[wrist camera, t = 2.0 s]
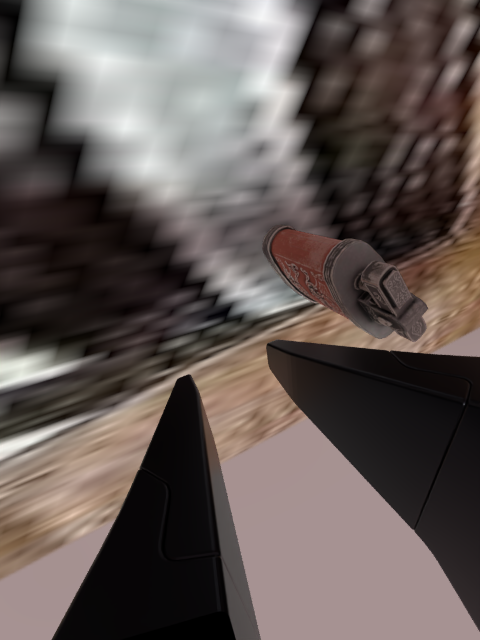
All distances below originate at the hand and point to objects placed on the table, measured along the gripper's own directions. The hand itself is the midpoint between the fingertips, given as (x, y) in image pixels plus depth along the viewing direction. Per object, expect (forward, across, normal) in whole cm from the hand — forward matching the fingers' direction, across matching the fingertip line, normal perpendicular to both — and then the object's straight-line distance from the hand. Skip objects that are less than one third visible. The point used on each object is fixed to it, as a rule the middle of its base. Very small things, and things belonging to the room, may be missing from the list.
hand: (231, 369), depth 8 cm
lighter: (+11, +10, -2) cm, 15 cm away
